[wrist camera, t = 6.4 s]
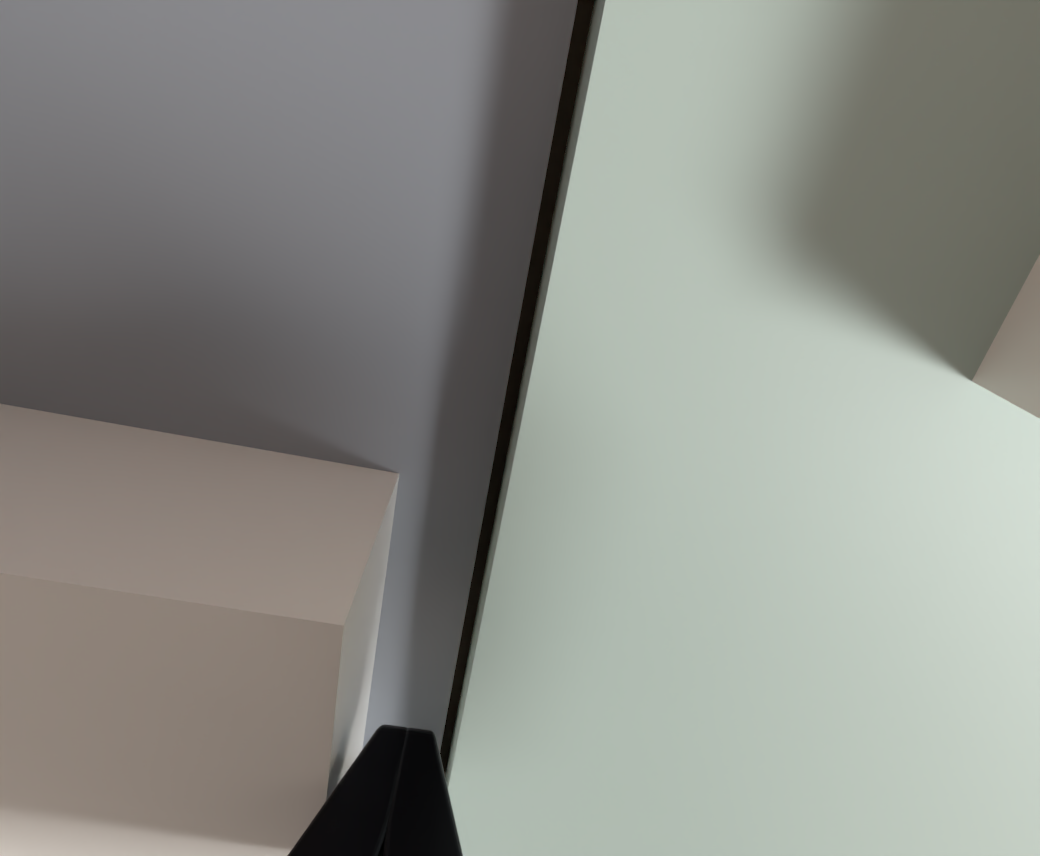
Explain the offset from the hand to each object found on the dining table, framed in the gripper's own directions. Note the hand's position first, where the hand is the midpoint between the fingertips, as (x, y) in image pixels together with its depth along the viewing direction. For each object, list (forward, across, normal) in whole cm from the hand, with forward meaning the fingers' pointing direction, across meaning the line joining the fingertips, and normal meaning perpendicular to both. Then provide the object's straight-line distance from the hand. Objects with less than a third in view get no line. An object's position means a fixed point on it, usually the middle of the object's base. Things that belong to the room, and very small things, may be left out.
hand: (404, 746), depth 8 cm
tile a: (+2, +4, 0) cm, 4 cm away
